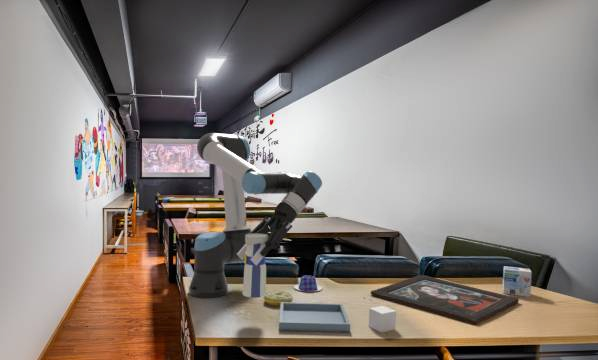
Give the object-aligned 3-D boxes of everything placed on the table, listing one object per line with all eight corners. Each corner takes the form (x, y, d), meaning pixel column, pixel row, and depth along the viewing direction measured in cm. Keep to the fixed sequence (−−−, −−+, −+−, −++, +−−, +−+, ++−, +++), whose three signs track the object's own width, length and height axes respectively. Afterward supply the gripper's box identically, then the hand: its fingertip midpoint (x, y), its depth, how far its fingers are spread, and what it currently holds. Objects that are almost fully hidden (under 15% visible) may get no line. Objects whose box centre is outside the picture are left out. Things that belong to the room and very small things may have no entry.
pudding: (317, 284, 185) (317, 273, 185) (325, 292, 174) (326, 280, 174) (290, 285, 182) (291, 273, 182) (297, 293, 171) (298, 281, 171)
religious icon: (417, 279, 200) (418, 273, 200) (519, 304, 168) (519, 297, 168) (367, 296, 172) (367, 288, 172) (477, 329, 140) (477, 320, 140)
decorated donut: (298, 303, 158) (298, 293, 158) (277, 309, 150) (278, 299, 150) (278, 296, 165) (279, 287, 165) (258, 302, 157) (258, 292, 157)
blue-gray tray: (278, 330, 130) (279, 322, 130) (280, 309, 150) (280, 302, 150) (350, 332, 130) (350, 324, 130) (342, 311, 150) (342, 303, 150)
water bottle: (242, 298, 132) (245, 219, 132) (240, 290, 141) (243, 215, 140) (268, 297, 134) (271, 219, 133) (264, 290, 142) (267, 216, 142)
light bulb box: (502, 293, 181) (504, 268, 181) (501, 289, 187) (502, 265, 187) (531, 297, 177) (532, 271, 177) (529, 293, 183) (530, 268, 183)
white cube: (381, 332, 131) (381, 313, 131) (368, 326, 137) (369, 308, 136) (395, 329, 135) (396, 311, 134) (382, 323, 140) (383, 305, 140)
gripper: (314, 219, 137) (270, 274, 128) (278, 212, 154) (237, 260, 145) (302, 203, 134) (256, 258, 125) (266, 198, 151) (224, 246, 141)
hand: (246, 259), depth 135 cm, fingers closed on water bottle, 8 cm apart
